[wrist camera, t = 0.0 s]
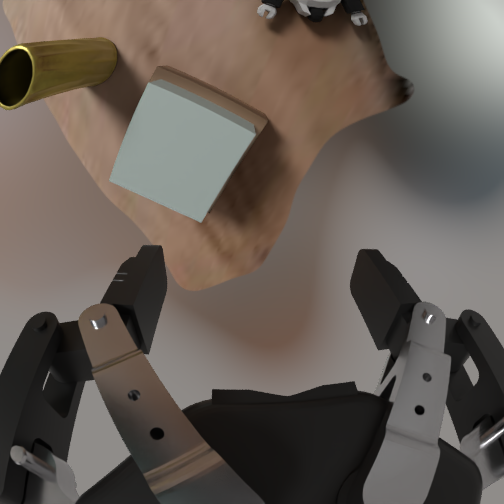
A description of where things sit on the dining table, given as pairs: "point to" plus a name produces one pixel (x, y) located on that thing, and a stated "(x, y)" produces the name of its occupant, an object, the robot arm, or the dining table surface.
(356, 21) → the robot toy
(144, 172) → the top brick
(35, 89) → the vase
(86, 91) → the dining table surface
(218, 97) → the bottom brick
